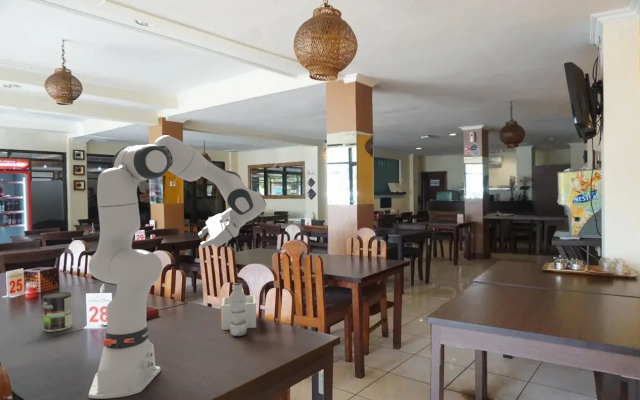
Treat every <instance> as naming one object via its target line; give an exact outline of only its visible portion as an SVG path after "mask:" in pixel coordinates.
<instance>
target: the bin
mask: <svg viewBox="0 0 640 400" xmlns="http://www.w3.org/2000/svg"><path fill="white" fill-rule="evenodd" d="M245 296H246V304H245V318H246V324H247V329H252V328H253V329H254V328H257V307H256V306H257V302H256V295H252V294H251V295H245ZM220 317H221V318H220V320H221V322H220V323H221V326H220V327H221V331H225V330H226V331H227V330H228V329H229V330H230V324H231V308H230V302H229V296H223V297H222V300H221V304H220Z"/></svg>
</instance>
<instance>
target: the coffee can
mask: <svg viewBox="0 0 640 400" xmlns="http://www.w3.org/2000/svg"><path fill="white" fill-rule="evenodd" d="M42 305H43V307H42V309H43V310H42V311H43V312H42V313H43V331H44V332H46V333H47V332H50V333H51V332H52V333H53V332H60V331H64V330H65V331H66V330H67V329H70V328H72V327H73V323H72V292H70V291H67V292H66V291H62V292H53V293H52V292H51V293H48V294H44V295H43V296H42Z"/></svg>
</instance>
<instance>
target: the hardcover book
mask: <svg viewBox="0 0 640 400" xmlns="http://www.w3.org/2000/svg"><path fill="white" fill-rule="evenodd" d="M159 316H160V308H159V307H155V306H151V305H146V321H147V320H151V319H153V318H156V317H159ZM106 319H107V318H106Z"/></svg>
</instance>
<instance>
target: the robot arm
mask: <svg viewBox="0 0 640 400" xmlns="http://www.w3.org/2000/svg"><path fill="white" fill-rule="evenodd" d="M167 172H170V173H171V174H172V175H175V176H177V178H180V179H182V180H183V181H187V182H189V183H190V182H194V181H197V180H199V179H200V178H202V177H203V178H204V179H206V180H207V181H210V182H211V183H213V184H214V185H215V186H216V188H217V190H218V191H219V193H220V195H221V196H222V198H223V200H224V201H225V204H226V205H227V206H228V207H229V208H227V209H226V210H224V211H223V212H221V213H218V214H215V215H213V216H212V217H210V218H208V219H207V220H205V226H204V227H203V228H202V229H201V231H199V232H197V235H198V237H199V238H200V239H201V238H203V237H204V236H205V235H206V234H207V233H208V236H209V238H207V240H205V241H202V242H200V247H201V248H202V249H205V248H206V247H208V246H212V245H213V246H214V247H215V248H219V247H221V246H222V245H224V244H226V243H228V242H229V241H230V240H232V238H236V237H238V236H239V233H240V229H241V228H242V227H243V226H244V225H245V224H246V223H247V222H249V221H253V219H255V218H257V217H258V216H260V215H261V214H262V213H263V212H264V211H265V210H266V208H267V202H266V200H265V199H264V196H263V195H262V194H261V192H260V191H254V190H251V188H248V187H247V186H246V185H245V183H244V182H243V180H242V177H241V176H240V175H239V174H238V173H237V172H235V171H230V170H226V169H223V168H222V167H220V166H217V165H216V164H214V163H213V162H211V161H209V160H208V159H206V157H204V156H203V155H202V154H201V153H200V152H199V151H198V150H196V149H194V148H193V147H191V146H190V145H189V144H187V143H185V142H184V141H181V140H180V139H178V138H176V137H173V136H171V135H162V136H159V137H158V138H157V139H156V140H155V141H154V142H153V143H152V144H151V143H149V144H135V145H130V146H125V147H123V148H121V149H119V150H118V151H117V152H116V153H115V154H114V156H113V159H112V162H111V165H110V167H109V168H106V169H105V170H103V171H101V172H100V173H99V175H98V177H97V184H96V185H97V187H96V189H97V191H96V199H97V200H96V201H97V211H98V219H99V220H98V221H99V238H98V239H99V240H98V244H97V248H96V251H95V253H93V255H92V256H91V257H90V260H89V263H88V270H89V273H90V275H91V276H92V277H94V278H95V279H97V280H99V281H101V282H104V283H106V284H107V283H108V284H115V285H116V290H115V291H116V292H115V295H114V298H113V299H112V300H111V301H109V302H108V304H107V306H106V315H107V326H106V332H105V336H104V339H103V342H102V343H103V348H102V354H101V357H100V362H99V364H98V370H97V372H96V373H95V374H94V378H93V380H92V384H91V386H90V389H89V392H88V398H89V399H97V400H98V399H101V400H102V399H103V400H104V399H105V400H106V399H115V398H123V397H128V396H132V395H136V394H138V393H142V392H143V390H145V388H146V387H147V386H148V385H149V384H150V383H151V382H152V381H153V380H154V378H155V377H157V375H158V374H159V373H160V372H161V367H160V366H157V365H156V360H155V345H154V344H153V343H152V342H151V341H150V340H149V333H150V332H149V325H147V320H146V306H147V301H148V296H149V294H150V293H149V292H150V290H151V288H152V286H153V285H154V284H155V283H156V282H157V281H158V280H159V279H160V278H161V275H162V271H163V264H162V263H163V262H162V259H161V257H160V256H159V255H158V254H156V253H154V252H152V251H149V250H145V249H137V248H135V249H134V248H133V246H132V245H133V239H134V236H135V234H137V233H138V232H139V230H140V228H141V217H140V209H139V207H140V206H139V198H138V193H137V192H138V191H137V189H138V185H139V183H140V182H141V181H148V180H156V179H159V178H161V177H162V176H164V174H166V173H167Z"/></svg>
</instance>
